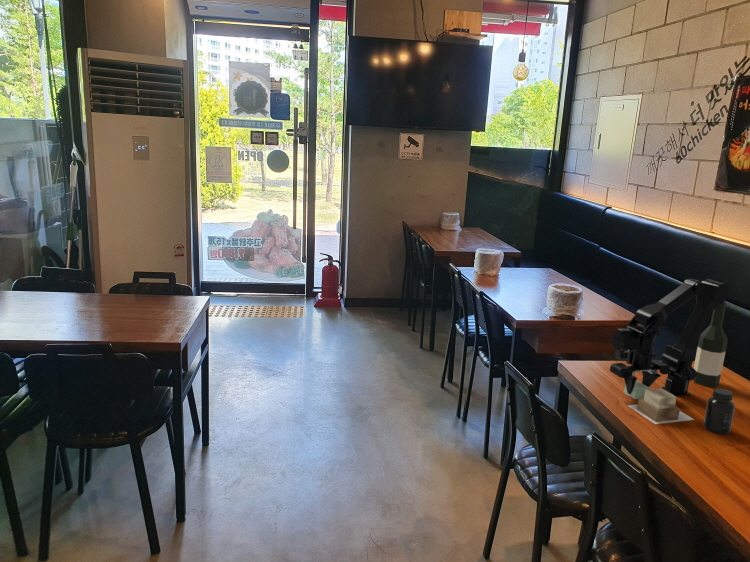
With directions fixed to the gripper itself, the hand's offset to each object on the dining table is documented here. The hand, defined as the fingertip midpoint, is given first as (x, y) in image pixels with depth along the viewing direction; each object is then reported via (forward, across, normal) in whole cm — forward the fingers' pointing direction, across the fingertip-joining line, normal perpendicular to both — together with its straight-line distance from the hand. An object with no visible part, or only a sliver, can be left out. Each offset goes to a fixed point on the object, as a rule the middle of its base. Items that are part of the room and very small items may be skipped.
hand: (636, 393), depth 183 cm
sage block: (+1, 0, 0) cm, 1 cm away
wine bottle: (+1, -33, -5) cm, 33 cm away
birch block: (-3, +3, +13) cm, 14 cm away
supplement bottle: (+1, -8, +24) cm, 25 cm away
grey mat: (+1, +1, +12) cm, 12 cm away
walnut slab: (+1, +3, +13) cm, 13 cm away
